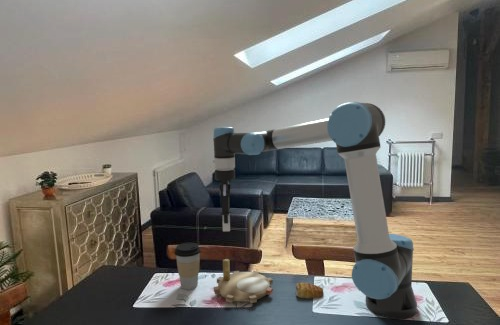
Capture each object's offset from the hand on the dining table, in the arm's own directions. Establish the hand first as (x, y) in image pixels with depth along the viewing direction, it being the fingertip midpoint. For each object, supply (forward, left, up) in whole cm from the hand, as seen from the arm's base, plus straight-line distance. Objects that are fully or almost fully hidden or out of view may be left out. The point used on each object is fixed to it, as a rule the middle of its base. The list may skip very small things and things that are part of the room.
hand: (226, 230), depth 132 cm
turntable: (-11, +7, -17) cm, 22 cm away
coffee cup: (+9, +12, -18) cm, 24 cm away
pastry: (-32, 0, -19) cm, 37 cm away
